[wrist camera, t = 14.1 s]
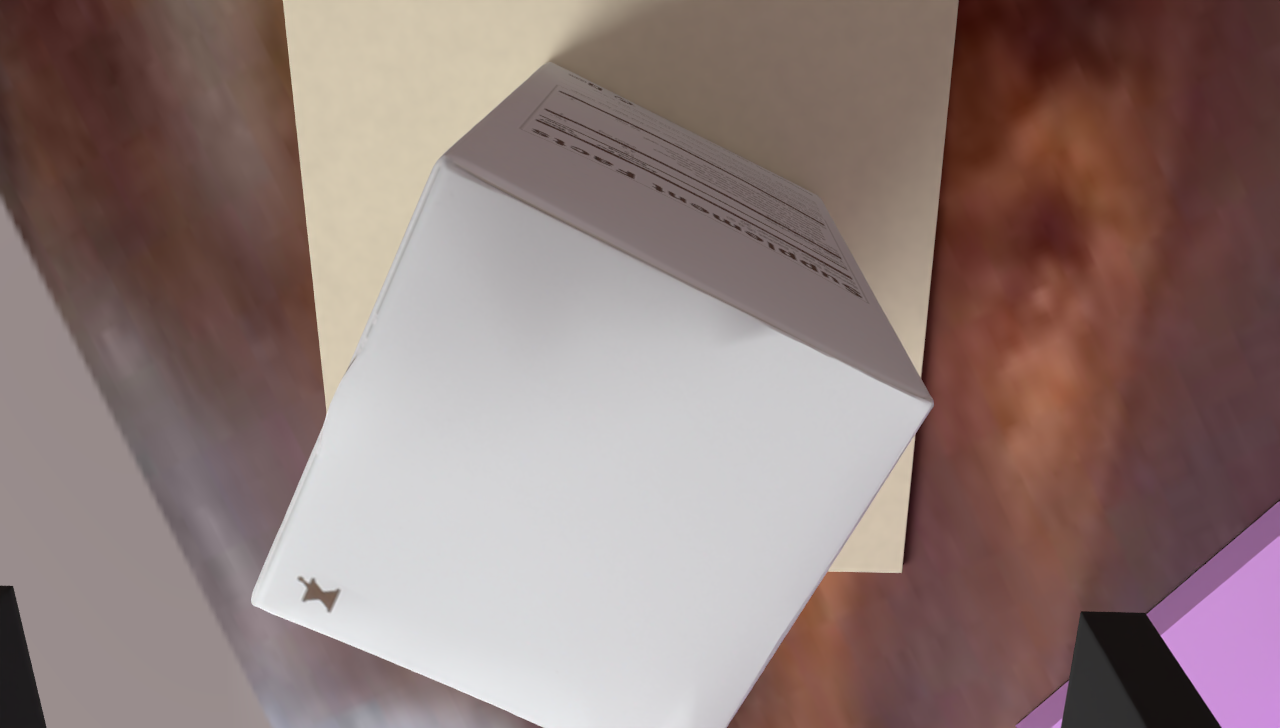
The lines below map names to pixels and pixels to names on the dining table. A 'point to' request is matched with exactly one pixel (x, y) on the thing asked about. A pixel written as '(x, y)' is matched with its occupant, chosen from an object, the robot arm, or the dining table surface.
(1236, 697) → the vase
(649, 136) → the rectangular carton
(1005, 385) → the dining table surface
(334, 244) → the placemat
